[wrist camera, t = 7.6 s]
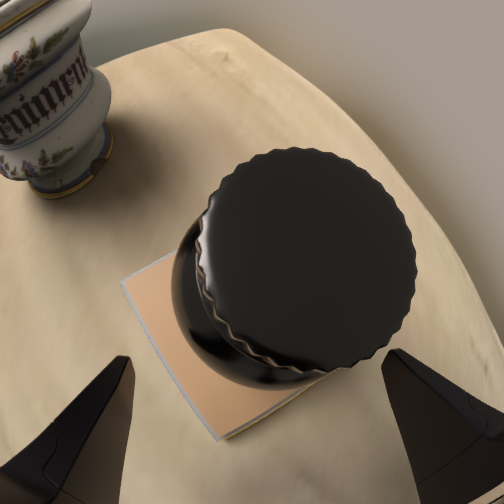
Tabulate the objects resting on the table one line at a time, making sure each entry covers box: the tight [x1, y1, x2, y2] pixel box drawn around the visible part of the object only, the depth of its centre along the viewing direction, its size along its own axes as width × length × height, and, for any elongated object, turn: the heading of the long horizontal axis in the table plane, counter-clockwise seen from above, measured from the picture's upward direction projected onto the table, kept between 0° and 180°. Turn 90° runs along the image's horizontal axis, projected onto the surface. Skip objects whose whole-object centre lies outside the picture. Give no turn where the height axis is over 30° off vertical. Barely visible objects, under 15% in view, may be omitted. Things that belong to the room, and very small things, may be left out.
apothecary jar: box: [0, 0, 113, 199], centre depth 12 cm, size 12×12×18 cm
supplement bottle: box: [171, 147, 418, 391], centre depth 11 cm, size 7×7×12 cm
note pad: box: [120, 249, 316, 443], centre depth 17 cm, size 12×12×3 cm
